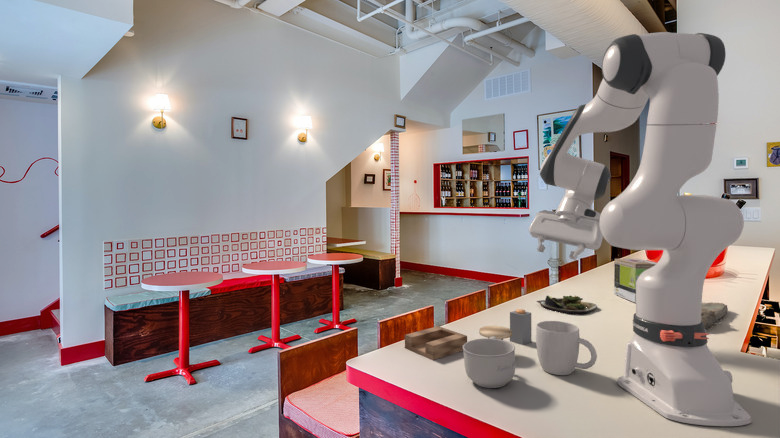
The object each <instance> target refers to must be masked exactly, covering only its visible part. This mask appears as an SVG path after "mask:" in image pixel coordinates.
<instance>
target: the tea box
mask: <svg viewBox="0 0 780 438" xmlns="http://www.w3.org/2000/svg"><path fill="white" fill-rule="evenodd" d="M657 263H658V262H656V261H650V260H646V259H641V258H614V265H613V266H614V273H613V275H614V279H613V281H614V282H613V283H614V287H613V289H614V290H613V292H614V293H613V294H614V295H615V296H617V295H618V296H617V297H620V298H622V299H626V300H627V301H630V302H632V303H635V304H636V281H637V279H638V277H639V276H640V274H641V273H642V272H644V271H645V270H647V269H649V268H651V267H653V266H655V265H656V264H657Z"/></svg>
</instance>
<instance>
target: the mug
mask: <svg viewBox="0 0 780 438" xmlns="http://www.w3.org/2000/svg"><path fill="white" fill-rule="evenodd" d="M535 327H536V328H535V343H536V351H537V358H538V363H539V365H540V367H541V368H542V370H543V371H544V372H546V373H548V374H551V375H555V376H556V375H557V376H568V375H571V374H573V373H574V371H575V369H576V368H577V369H581V370H588V369H590V368H593V366H594V365H595V364H596V362H597V358H598V355H597V350H596V348H595V347H594V345H593V344H592V343H591V342H590V341H589V340H587V339H584V338H580V328H579V327H578V326H577V325H575V324H572V323H569V322H566V321H565V322H564V321H558V320H544V321H540V322H538V323H537V324H536V326H535ZM580 344H581V345H583V346H584V347H586V348H587V350H588V351H589V352H590V360H589V361H588V362H584V363H582V362H578V360H579V353H580Z"/></svg>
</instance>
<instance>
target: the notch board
mask: <svg viewBox="0 0 780 438" xmlns="http://www.w3.org/2000/svg"><path fill="white" fill-rule="evenodd" d="M466 342H468V335H466V334H463V333H460V332H457V331H454V330H450V329H448V328H445V327H443V326H439V325H436V326H433V327H430V328H426V329H422V330H418V331H414V332H411V333H407V334H404V348H405V349H407V350H409V351H411V352H413V353H416V354H418V355H421V356H422V357H425V358H427V359H429V360H432V361H434V360H437V359H441V358H445V357H448V356H450V355H454V354H456V353H459V352H460V353H461V352H464V351H463V345H464V344H465V343H466Z"/></svg>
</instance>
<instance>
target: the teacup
mask: <svg viewBox="0 0 780 438" xmlns="http://www.w3.org/2000/svg"><path fill="white" fill-rule="evenodd" d="M515 350H516V347H515V345H514V344H513V342H511V341H508V340H505V339H503V340H501V339H497V338H496V337H493V336H492V337H490V338H487V337H484V338H476V339H475V338H474V339H471V340H468V341H467V342H466V343H465V344H464V345H463V351H462V352H463V361H464V369H465V373H466V376H467V377H468V378H469V380H471V381H472V382H474V384H476V385H477V386H479V387H482V388H487V389H498V388H502V387H504V386H505V385H507V384H508V383H509V382H510V381H512V379H513V378H514V376H515V373H516V354H515V353H516V352H515Z"/></svg>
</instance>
